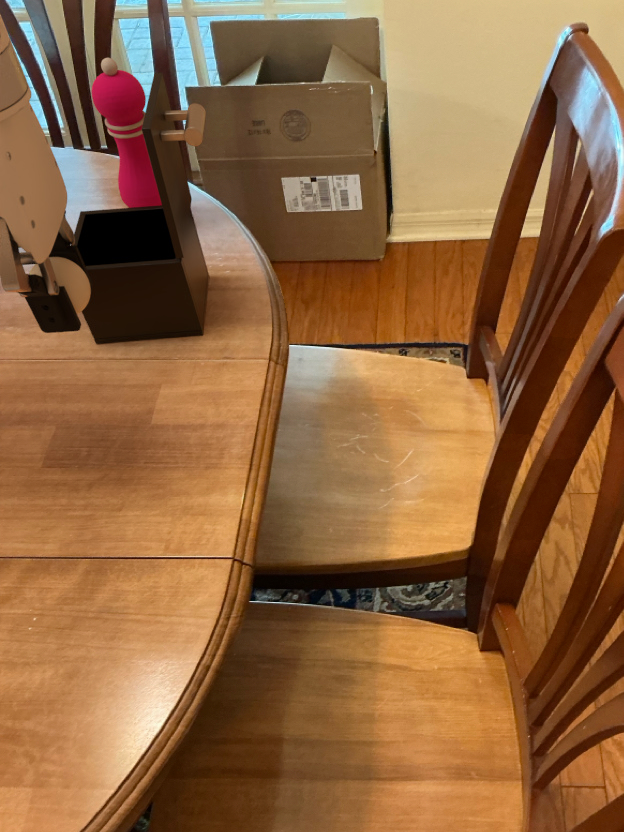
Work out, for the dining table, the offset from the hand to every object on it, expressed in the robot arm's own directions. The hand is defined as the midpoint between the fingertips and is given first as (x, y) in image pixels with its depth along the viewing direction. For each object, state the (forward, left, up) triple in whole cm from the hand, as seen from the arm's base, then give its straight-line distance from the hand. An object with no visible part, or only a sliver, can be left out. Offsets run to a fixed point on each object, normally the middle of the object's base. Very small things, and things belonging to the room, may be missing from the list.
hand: (68, 307), depth 65 cm
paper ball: (0, 0, 0) cm, 0 cm away
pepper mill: (-1, +41, -17) cm, 45 cm away
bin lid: (+6, +22, 0) cm, 23 cm away
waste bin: (0, +22, -17) cm, 28 cm away
